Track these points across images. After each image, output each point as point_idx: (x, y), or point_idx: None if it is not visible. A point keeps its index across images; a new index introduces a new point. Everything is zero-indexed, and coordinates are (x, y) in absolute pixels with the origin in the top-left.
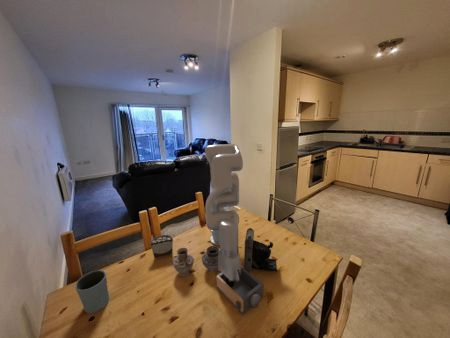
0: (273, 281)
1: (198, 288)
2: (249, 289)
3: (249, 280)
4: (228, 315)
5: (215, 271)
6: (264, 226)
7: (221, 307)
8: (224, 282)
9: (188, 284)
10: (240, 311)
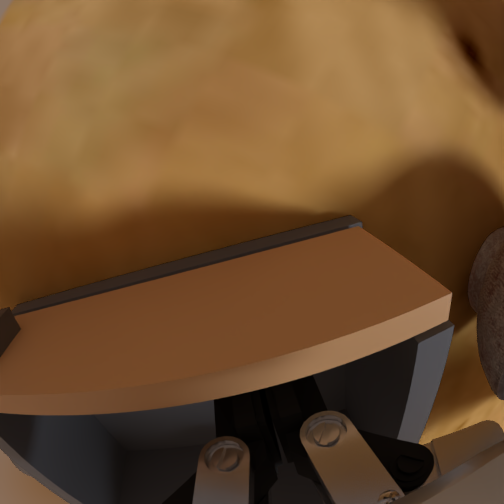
0: None
1: (422, 61)
2: (182, 436)
3: None
4: (30, 208)
5: (473, 272)
6: None
7: (113, 172)
8: (251, 381)
9: (471, 30)
10: (18, 313)
